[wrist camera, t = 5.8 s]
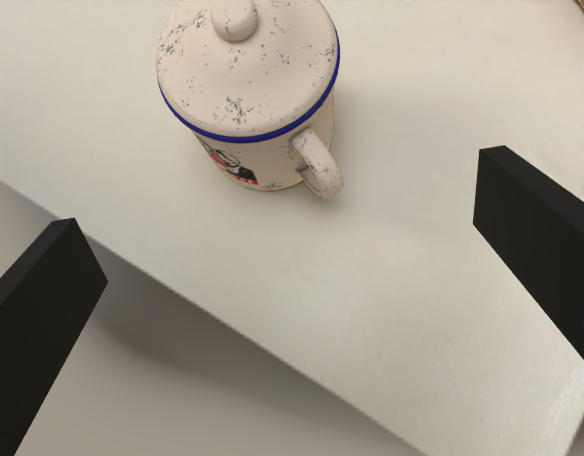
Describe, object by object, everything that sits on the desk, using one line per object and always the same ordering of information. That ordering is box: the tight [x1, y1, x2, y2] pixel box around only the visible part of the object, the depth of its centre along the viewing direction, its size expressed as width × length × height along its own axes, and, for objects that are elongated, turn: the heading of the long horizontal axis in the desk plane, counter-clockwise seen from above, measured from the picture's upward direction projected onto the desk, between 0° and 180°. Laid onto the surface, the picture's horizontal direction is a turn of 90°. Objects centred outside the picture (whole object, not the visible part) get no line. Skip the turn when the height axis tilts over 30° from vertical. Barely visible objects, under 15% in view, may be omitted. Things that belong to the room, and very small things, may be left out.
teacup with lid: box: [156, 0, 343, 199], centre depth 22 cm, size 12×9×12 cm
